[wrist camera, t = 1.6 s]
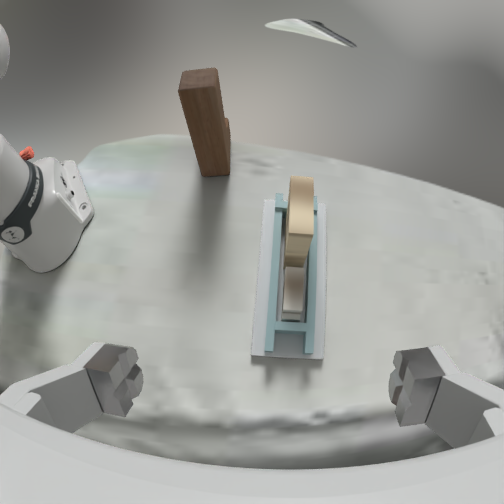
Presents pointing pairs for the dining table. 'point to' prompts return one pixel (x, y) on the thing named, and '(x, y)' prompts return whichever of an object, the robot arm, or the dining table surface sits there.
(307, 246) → the beige rectangular slab
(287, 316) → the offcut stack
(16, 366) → the dining table surface
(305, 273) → the rack
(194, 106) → the wooden block
